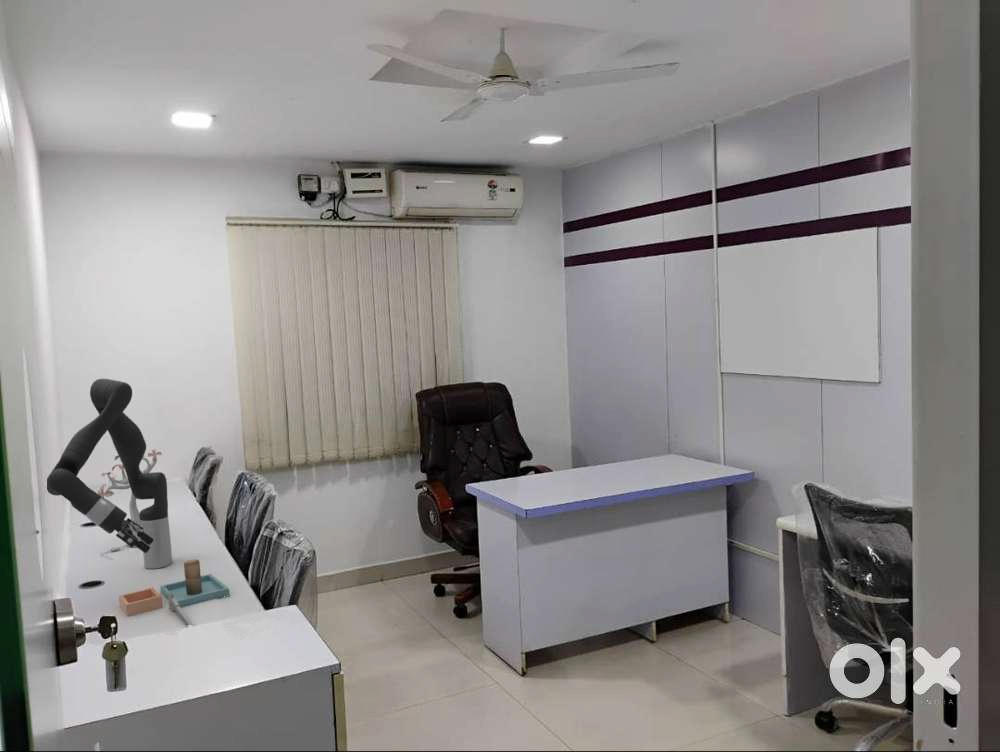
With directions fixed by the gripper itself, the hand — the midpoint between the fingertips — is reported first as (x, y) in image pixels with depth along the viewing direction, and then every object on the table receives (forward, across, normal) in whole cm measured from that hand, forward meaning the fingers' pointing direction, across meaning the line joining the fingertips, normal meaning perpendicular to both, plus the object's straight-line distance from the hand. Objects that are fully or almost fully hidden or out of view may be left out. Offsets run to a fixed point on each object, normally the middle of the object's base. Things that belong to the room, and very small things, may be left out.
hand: (150, 546), depth 252 cm
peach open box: (+10, -6, +15) cm, 19 cm away
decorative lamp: (+2, +67, +23) cm, 71 cm away
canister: (+20, 0, +4) cm, 20 cm away
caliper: (+19, -20, +6) cm, 29 cm away
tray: (+20, 0, +4) cm, 21 cm away
